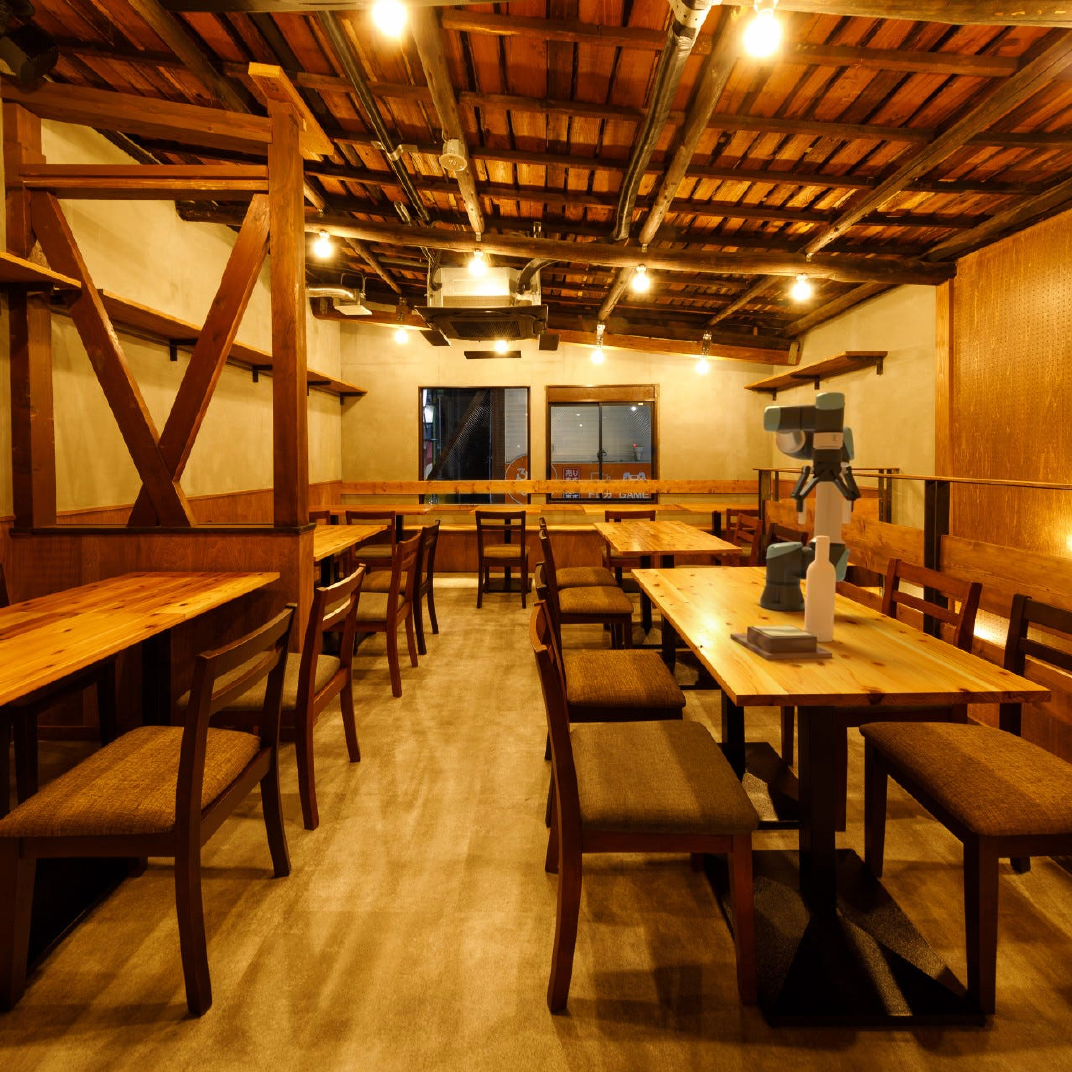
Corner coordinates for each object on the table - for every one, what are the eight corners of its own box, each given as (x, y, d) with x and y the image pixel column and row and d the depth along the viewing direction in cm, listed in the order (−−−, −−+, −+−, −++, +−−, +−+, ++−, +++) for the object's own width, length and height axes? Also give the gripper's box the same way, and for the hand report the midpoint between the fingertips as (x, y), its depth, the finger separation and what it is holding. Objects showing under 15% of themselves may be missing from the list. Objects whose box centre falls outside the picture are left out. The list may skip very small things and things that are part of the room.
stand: (730, 637, 184) (730, 619, 184) (788, 636, 186) (789, 617, 186) (766, 659, 163) (767, 638, 162) (832, 657, 165) (833, 636, 164)
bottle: (820, 643, 178) (825, 538, 175) (797, 637, 185) (801, 535, 182) (839, 640, 182) (844, 536, 179) (816, 634, 189) (820, 534, 186)
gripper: (793, 447, 173) (790, 525, 175) (877, 448, 176) (873, 524, 178) (779, 448, 180) (776, 523, 182) (860, 449, 183) (856, 522, 185)
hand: (824, 523), depth 180 cm, fingers open, 13 cm apart
